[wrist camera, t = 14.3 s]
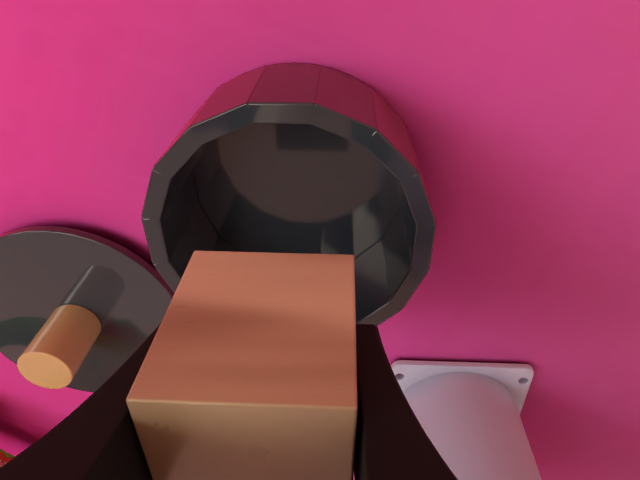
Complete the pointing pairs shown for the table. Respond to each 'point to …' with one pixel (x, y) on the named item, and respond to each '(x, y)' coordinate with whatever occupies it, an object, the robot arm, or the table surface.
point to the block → (252, 371)
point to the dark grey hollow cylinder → (296, 182)
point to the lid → (74, 305)
